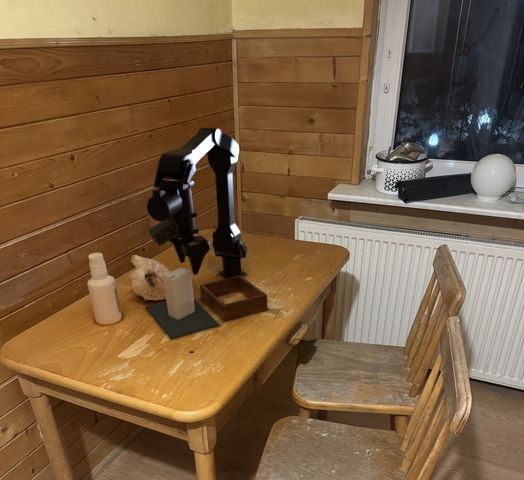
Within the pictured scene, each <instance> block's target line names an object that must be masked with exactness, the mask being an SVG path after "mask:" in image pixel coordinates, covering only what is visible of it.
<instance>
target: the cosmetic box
mask: <svg viewBox="0 0 524 480" xmlns="http://www.w3.org/2000/svg"><path fill="white" fill-rule="evenodd" d="M163 280H164V287H165V293H166V299H165V301H167V307H168V314H169V316H171V317H172V318H174V319H177V320H179V319H182V318H184V317H186V316H188V315H190V314H192V313H194V312H195V306H194V300H195V298H194V289H193V281H192V273H191V270H188V269H186V268H182V267H179V268H176V269H174V270H171V271H170V272H169V273H166V274H163Z"/></svg>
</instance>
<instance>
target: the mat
mask: <svg viewBox="0 0 524 480" xmlns="http://www.w3.org/2000/svg"><path fill="white" fill-rule="evenodd" d="M194 306H195V312H194V313H192V314H190V315H188V316H186V317H184V318H182V319H179V320H177V319H174V318H172V317H171V316H169V314H168V307H167V300H165V301H161V302H156V303H153V304H150V305H146V306H145V309H146V310H147V311H148V313H149V314H150V315H151V316H152V318H153V319H154V320H155V321H156V322H157V324H158V325H159V327H161V328H162V330H163V331H164V333H165V334H166V335H167V336H168V338H169V339H170V340H174V339H177V338H178V339H179V338H181V337H184V336H185V337H186V336H188V335H192V334H196V333H199V332H203V331H206V330H209V329H213V328H216V327H220V323H218V321H217V320H216V319H215V318H214V317H213V316H212V315H210V313H209V312H207V311H206V309H204V307H202V306H201V305H200V304H199V302H197V301H196V299H194Z"/></svg>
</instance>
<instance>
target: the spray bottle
mask: <svg viewBox="0 0 524 480" xmlns="http://www.w3.org/2000/svg"><path fill="white" fill-rule="evenodd" d="M87 258H88V261H89V263H88V266H89V270H90V276H91V278H90V279H88V280H87V283H86V284H87V288H88V294H89V297H90V303H91V306H92V310H93V315H94V319H95V322H96V323H97V324H98V325H101V326H102V325H103V326H107V325H112V324H117V323H118V322H120V321H121V320H122V319H123V318H122V317H123V314H122V310H121V304H120V298H119V294H118V290H117V289H118V288H117V284H116V280H115V278H114V276H112V275H109V273H108V269H107V265H106V261H105V259H104V255H103V253H102V252H93V253H90V254H88V257H87Z"/></svg>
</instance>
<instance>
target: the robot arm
mask: <svg viewBox="0 0 524 480" xmlns="http://www.w3.org/2000/svg"><path fill="white" fill-rule="evenodd" d="M239 154H240V147H239V144H238V143H237V141H236V140H235V139H234V138H233V137H231V136H230V135H228V134H226V133H223V131H222V130H221V129H219V128H217V127H211V126H210V127H208V126H207V127H204V126H203V127H200V128H199V129H198V131H197V133H195V135H193V136H192V137H191V138H190V139H189V140H187V142H185V143H184V145H182V146H181V147H179V148H176V149H172V150H168V151H166V152H164V153H162V155H161V156H160V157H159V160H158V163H157V167H156V168H157V169H156V173H155V177H154V183H153V188H155V189H153V190H152V191H151V193H152V196H151V197H149V199H148V200H147V204H146V210H147V213H148V215H149V216H150V218H152V219H153V220H154V221H157V222H159V223H157V224H155V225H154V226H152V227H150V228H148V233H149V235H150V237H151V238H152V240H153V242H154V243H156V245H157V246H163V245H164V244H165V243H167V242H170V243H171V244H172V246H173V248H174V250H175V253H176V255H177V258H178V261H179V262H180V263H181V264H182V263H185V262H186V257H187V258H188V262H189V265H190V268H191V271H192V275H193V276H197V275H198V274H199V272H200V269H201V266H202V264H203V262H204V260H205V257H206V255H207V253H209V252H210V251H211V249H212V248H213V252H214V255H215V257H218V258H221V261H222V270H219V271H218V273H219V274H220V275H221V276H222V277H223V278H224V279H226V278H230V277H234V276H238V275H241V276H242V277H245V276H246V275H247V273H246V272H245V271H243V270H242V259H245V258H247V254H248V247H247V245H246V244H245V242H244V241H243V239H242V234H241V230H240V228H238V226H237V224H236V221H235V220H236V219H235V199H234V177H233V175H234V174H233V172H234V170H235V168H236V166H237V164H238V161H239ZM205 155H207V162H208V163H207V164H208V165H209V167H210V168H211V171H213V173H214V178H215V179H214V180H215V194H216V210H217V227H216V229H215V230H214V231H213V232H212V234H211V237H212V247H211V241H209V240H208V239H207V238H205V237H204V236H203V235H201V234H200V231H199V228H197V227H196V221H195V218H198V214H197V212H196V211H195V210H194V202H193V193H192V186H194V185H195V181H194V180H192V178H193V176H194V174H195V173H196V171H197V168H196V164H197V163H198V162H199V161H200V160H201V159H202V158H203V157H204V156H205ZM198 234H200V235H198Z"/></svg>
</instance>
